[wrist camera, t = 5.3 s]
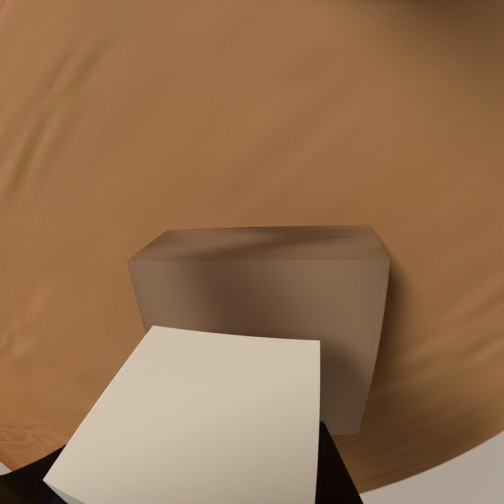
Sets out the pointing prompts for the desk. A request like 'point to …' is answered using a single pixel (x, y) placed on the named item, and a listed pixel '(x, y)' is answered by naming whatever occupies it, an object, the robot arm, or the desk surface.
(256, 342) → the cream block
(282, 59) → the desk surface
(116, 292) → the desk surface
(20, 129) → the desk surface
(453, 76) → the desk surface
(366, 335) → the walnut block
